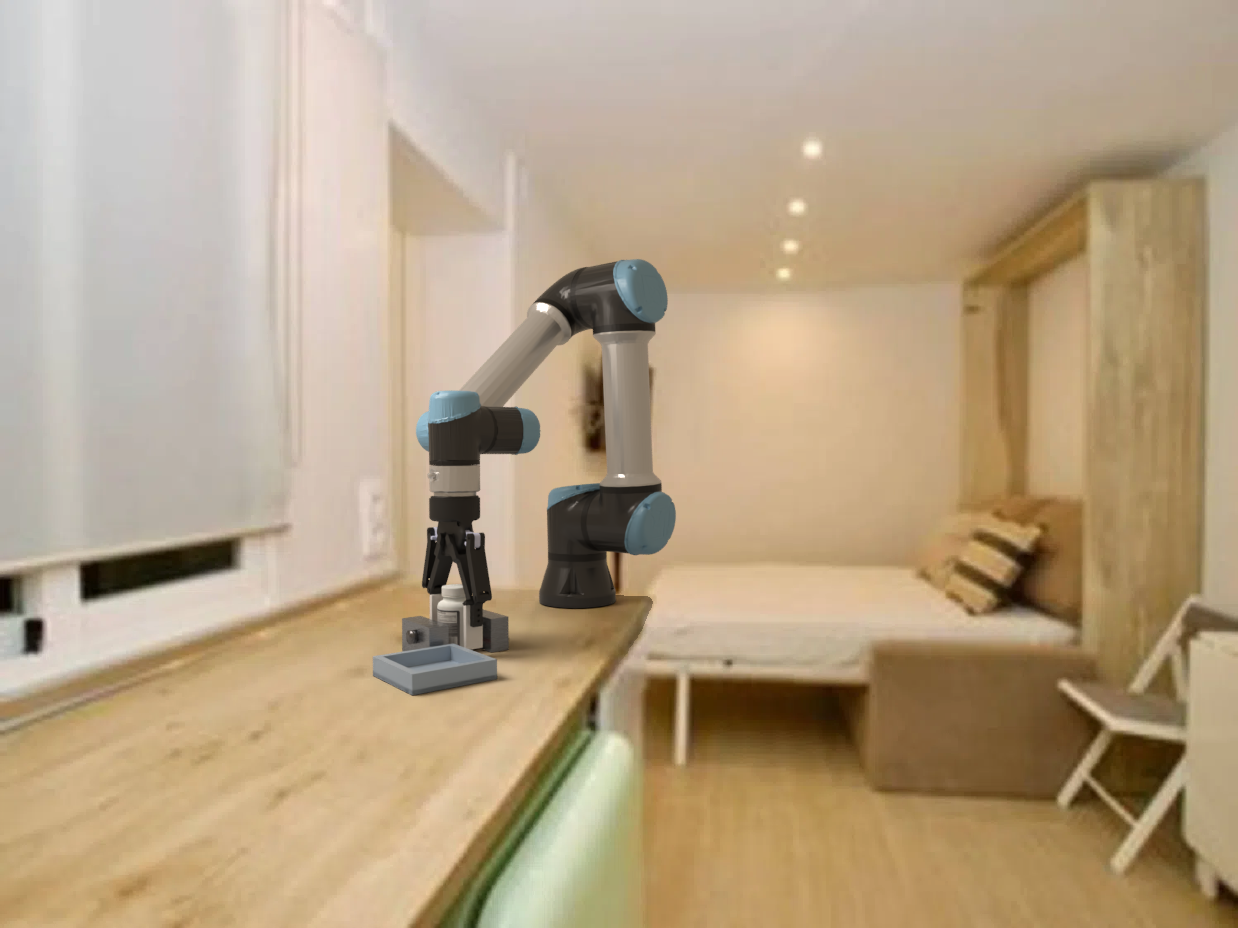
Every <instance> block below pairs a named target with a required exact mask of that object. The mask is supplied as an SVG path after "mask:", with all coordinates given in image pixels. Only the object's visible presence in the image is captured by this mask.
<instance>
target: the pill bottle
mask: <svg viewBox="0 0 1238 928" xmlns="http://www.w3.org/2000/svg"><path fill="white" fill-rule="evenodd" d="M442 596H443V600H441V601H440V602H439V603H438V605H437V621H438V622H441V623H444V624H447V625H448V626H449V644H456V645H459V646H462V647H464V613H463V602H464V601H466V597H465V593H464V589H463V586H462V583H452V584H450V583H449V584H446V585H444V586H442ZM471 650H473V651H474V649H471Z"/></svg>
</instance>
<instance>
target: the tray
mask: <svg viewBox="0 0 1238 928" xmlns="http://www.w3.org/2000/svg"><path fill="white" fill-rule="evenodd" d="M372 676H373V677H375V678H377V679H379V680H381V681H382V682H384V683H387V684H389V685H391V686H392V687H394V688H397V689H398V690H400V691H402V692H404V693H407V694H409V695H410V696H417V695H422V694H426V693H427V694H428V693H432V692H437V691H438V692H439V691H444V690H448V689H452V688H459V687H463V686H469V685H473V684H480V683H483V682H489V681H494V680H498V659H497V658H494V657H492V656H489V655H486V654H483V653H480V652H478V651H474V649H473V650H470V649H467V648H464V647H462V646H459V645H456V644H448V645H441V646H435V647H429V648H422V649H416V650H410V651H403V652H402V651H398V652H391V653H386V654H379V655H373V656H372Z"/></svg>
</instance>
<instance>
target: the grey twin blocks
mask: <svg viewBox="0 0 1238 928" xmlns="http://www.w3.org/2000/svg"><path fill="white" fill-rule="evenodd" d="M509 632H510V631H509V616H507V615H504V614H501V613H498V612H494V611H490V610H487V609H484V608H483V648H479V649H480V650H484V651H485V652H489V653H497V652H502V651H509V638H510V637H509V636H510V635H509ZM448 644H449V626H448V625H447V624H444V623H441V622H438V621H435V620H432V619H430V617H429V618H428V617H425V616H422V615H416V616H408V617H402V618H401V648H402V651H401V652H403V651H410V650H416V649H422V648H429V647H435V646H441V645H448Z"/></svg>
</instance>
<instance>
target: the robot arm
mask: <svg viewBox="0 0 1238 928" xmlns="http://www.w3.org/2000/svg"><path fill="white" fill-rule="evenodd" d="M667 291H668V289H667V287H666V284H665V282H664V279H663V276H662V275H661V274H660V272H658V269H657V268H656V267H655V266H654V265H653V264H652V263H651V262H649V261H647V260H644V259H642V258H641V259H640V258H634V259H620V260H617V261H611V262H607V263H602V264H601V263H600V264H596V265H591V266H585V267H579V268H577V269H574V270H572V271H569V272H568V273H566V274H565V275H563V276H562V277H560V278H558V280H556V281H555V282H554V283H553V284H552V285H550V286H549V287H547V288H546V290H545V291H544V292H542V294H541V295H539V296H538V298H537V299H535V300H534V302H533V303H531V305H530V306H529V307H528V308H527V312H526V318H525V319H524V320H523V322H521V324H520V325H519V326H518V327H517V328H516V329H515V330H514V331H513V332H512V333H511V334H510V335H509V336H508V337H507V339H505V341H504V342H503V343H502V344H501V345H500V346H499V347H498V348H497V349H496V350H495V351H494V352H493V353H492V355H491V356H490V357H489V358H488V359H487V360H486V361H485V362H484V363H483V364H482V365H481V366H480V368H479V369H477V370H476V372H475V373H474V374H473V375H472V376H471V377H470V378H469V379H467V381H466V382H465V384H463V386H462V387H461V388H460V389H459V390H438V391H435V392H433V393H432V394H431V395H430V397H429V403H428V411H425V412H424V413H422V414H421V415H420V417H419V418H418V420H417V422H416V426H415V436H416V438H417V439H416V440H417V442H418V443H419V445H420V446H421V447H422V448H423V450H425V451H426V452H428V457H429V458H428V465H429V472H428V473H427V478H428V479H429V491H430V492H431V493H433V495H431V496H430V497H429V498H428V500H429V501H428V507H429V508H428V510H429V511H428V512H429V515H428V517H429V520H430V521H431V522H437V526H433V527H432V526H431V527H430V526H429V527H427V528H426V549H425V555H424V556H425V557H424V564H423V573H422V580H421V588H422V589H426V591H427V593H428V594H429V619H432V620H435V621H437V605H438V603H439V602H440V601H441V600H443V596H442V586H444V585H448V584H447V583H448V580H449V577H450V573H451V570H452V566H453V563H454V564H456V566H457V569H458V575H459V578H460V581H461V584H462V586H463V589H464V593H465V597H466V601H464V602H463V613H464V648H467V649H470V650H471V649H473V650H475V649H480V648H483V609H484V608H483V606H484V604H485V603H486V602H489V601H492V599H493V596H492V595H493V594H492V587H491V581H490V575H489V568H488V561H487V555H486V534H485V532H474V531H475V530H474V529H473V528H474V527H473V522H474V521H477V520H479V519H480V518H481V497H480V496H479V495H477V492H480V491H481V455H511V456H512V455H514V456H518V455H520V454H521V455H522V454H523V455H524V454H528V453H531V452H532V451H533V450H535V448H536V447H537V445H538V444H539V441H540V438H541V423H540V420H539V418H538V416H537V415H536V413H535V412H534V411H533V410H530V409H528V408H523V407H518V406H505V405H506V404H507V403H508V402H509V400H510V399H511V398H512V397H513V396H514V395H515V393H517V391H518V390H519V389H520V388H521V387H522V386H523V385H524V383H526V381H527V380H529V378H530V377H531V376H532V375H533V373H534V372H535V371H536V370H537V369H538V368H539V366H541V364H542V363H543V362H544V361H545V360H546V359H547V357H548V356H550V354H551V353H552V352H553V351H554V350H555V348H556V347H557V346H564V345H565V344H566V343H568V342H569V341H570V340H571V338H572V337H574V336H575V335H577V334H579V333H582V332H584V331H588V330H592V337H593V338H594V339H595V340H596V341H597V342H598V343H599V344H600V347H601V361H602V362H601V363H602V384H603V385H602V386H603V405H604V406H603V407H604V408H603V409H604V431H605V433H604V435H605V456H606V458H605V459H606V475H605V476H604V477H603V478H602V480H601V481H600V482H596V483H585V484H582V483H581V484H574V485H566V486H560V487H555V488H553V489H551V490H550V491H549V492H548V495H547V507H546V520H547V521H546V522H547V523H546V525H547V526H546V527H547V530H546V531H547V565H546V568H545V571H544V575H543V578H542V581H541V585H540V588H539V591H538V601H539V604H541V605H543V606H546V607H547V606H548V607H553V608H566V609H567V608H568V609H582V608H583V609H585V608H586V609H587V608H597V607H605V606H609V605H612V604H615V603H616V602H617V595H616V594H617V593H616V592H617V591H616V588H615V585H614V581H613V578H612V574H611V571H610V569H609V566H608V562H607V561H608V560H607V559H608V557H607V556H608V553H609V552H610V553H619V554H628V555H633V556H638V555H642V556H643V555H646V556H647V555H650V556H651V555H654V554H657V553H659V552H660V551H661V550H663V549H664V548H665V547H666V545H667V544H668V542H669V540H670V539H671V538H672V535H673V533H674V529H675V526H676V522H677V521H676V520H677V512H676V506H675V503H674V502H673V499H672V497H671V496H670V495H668V494H667V493H665V492H663V486H662V480H661V479H660V478H659V477H658V476H657V475H656V474H655V473H654V468H653V467H654V465H653V443H652V442H653V441H652V417H651V416H652V415H651V414H652V413H651V390H650V389H651V387H650V368H649V367H650V365H649V343H650V342H651V340H652V339H653V337H655V336H656V323H658V322H659V321H661V320H662V319H663V318H664V317H665V315H666V311H667V310H668V301H669V300H668V299H669V298H668V292H667ZM607 552H608V553H607Z"/></svg>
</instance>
